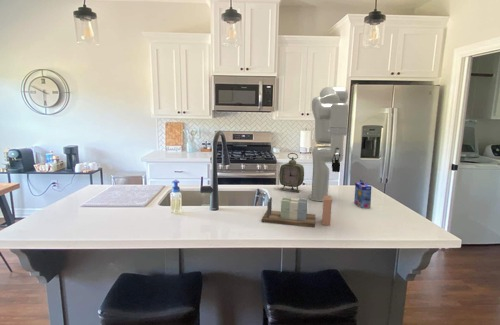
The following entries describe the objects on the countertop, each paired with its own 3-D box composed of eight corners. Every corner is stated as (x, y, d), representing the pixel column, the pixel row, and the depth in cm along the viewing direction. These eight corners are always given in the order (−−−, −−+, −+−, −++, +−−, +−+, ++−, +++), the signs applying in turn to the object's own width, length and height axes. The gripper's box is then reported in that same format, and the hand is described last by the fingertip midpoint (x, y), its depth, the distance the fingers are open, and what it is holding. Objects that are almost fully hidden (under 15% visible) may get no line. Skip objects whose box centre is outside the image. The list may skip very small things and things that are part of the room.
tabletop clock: (278, 190, 194) (280, 152, 190) (283, 187, 202) (285, 151, 198) (299, 193, 188) (301, 154, 184) (304, 190, 195) (306, 152, 191)
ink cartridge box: (353, 202, 169) (355, 178, 167) (362, 202, 170) (364, 178, 167) (360, 208, 160) (362, 182, 157) (370, 208, 160) (372, 182, 158)
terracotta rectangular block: (322, 219, 141) (323, 195, 139) (329, 220, 140) (331, 195, 138) (322, 224, 134) (323, 199, 132) (330, 225, 134) (331, 200, 132)
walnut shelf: (266, 213, 149) (267, 193, 147) (315, 217, 144) (316, 197, 142) (261, 221, 136) (262, 201, 135) (314, 227, 131) (315, 205, 130)
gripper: (329, 130, 140) (326, 166, 142) (329, 132, 123) (327, 172, 126) (345, 131, 138) (343, 167, 140) (348, 133, 121) (345, 173, 124)
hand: (335, 169), depth 133 cm, fingers open, 9 cm apart
